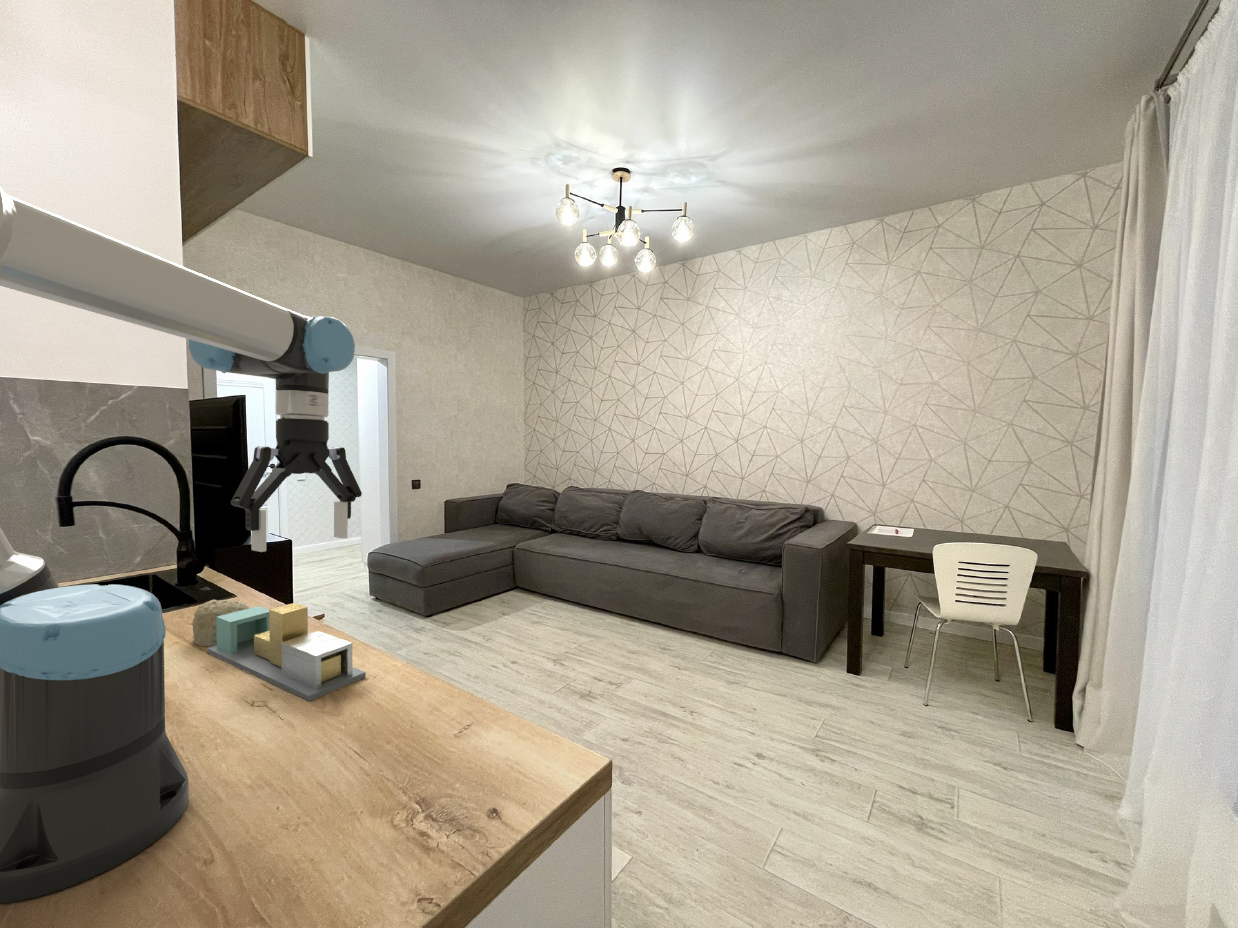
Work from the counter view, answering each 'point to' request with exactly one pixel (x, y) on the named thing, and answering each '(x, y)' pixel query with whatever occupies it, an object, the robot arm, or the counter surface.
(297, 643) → the grey rectangular sleeve
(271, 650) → the gold stepped block
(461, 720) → the counter surface
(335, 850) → the counter surface
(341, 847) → the counter surface
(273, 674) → the slate board
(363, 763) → the counter surface
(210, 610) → the sponge
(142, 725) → the robot arm
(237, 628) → the socket
